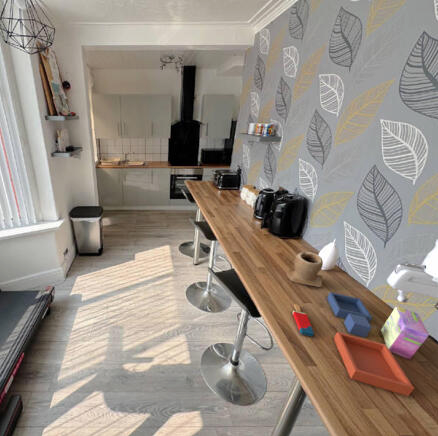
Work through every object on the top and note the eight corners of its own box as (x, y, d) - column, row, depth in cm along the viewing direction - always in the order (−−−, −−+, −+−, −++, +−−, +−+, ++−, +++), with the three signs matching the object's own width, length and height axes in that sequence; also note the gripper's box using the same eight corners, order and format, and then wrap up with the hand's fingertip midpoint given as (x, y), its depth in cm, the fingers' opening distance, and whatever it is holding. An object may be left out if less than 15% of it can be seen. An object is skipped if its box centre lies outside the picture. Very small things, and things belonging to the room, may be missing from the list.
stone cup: (288, 285, 109) (297, 257, 103) (284, 270, 119) (293, 245, 113) (326, 294, 104) (338, 266, 98) (319, 278, 114) (330, 252, 108)
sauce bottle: (328, 266, 125) (340, 236, 117) (335, 274, 118) (349, 243, 110) (311, 263, 126) (323, 234, 119) (317, 272, 119) (330, 241, 112)
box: (410, 360, 76) (429, 334, 72) (387, 351, 79) (404, 325, 74) (401, 337, 84) (418, 313, 80) (380, 330, 87) (395, 305, 82)
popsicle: (302, 304, 96) (315, 334, 83) (301, 307, 96) (313, 337, 83) (290, 301, 97) (300, 330, 84) (289, 304, 98) (299, 333, 84)
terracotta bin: (381, 351, 79) (385, 344, 77) (408, 396, 66) (414, 388, 65) (333, 338, 83) (337, 331, 81) (350, 378, 70) (355, 370, 69)
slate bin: (356, 305, 99) (359, 298, 97) (368, 324, 89) (372, 317, 88) (327, 298, 102) (329, 292, 100) (335, 316, 93) (339, 309, 91)
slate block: (359, 326, 88) (365, 317, 86) (365, 337, 84) (371, 327, 82) (343, 322, 90) (348, 313, 88) (349, 333, 85) (354, 323, 83)
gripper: (406, 266, 69) (385, 302, 75) (501, 284, 63) (470, 322, 69) (394, 256, 75) (375, 290, 80) (480, 271, 69) (453, 307, 75)
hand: (419, 305), depth 75 cm, fingers open, 8 cm apart
